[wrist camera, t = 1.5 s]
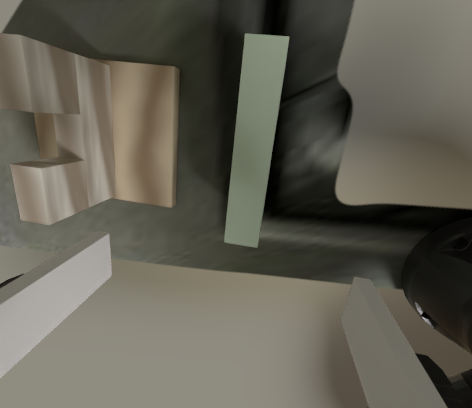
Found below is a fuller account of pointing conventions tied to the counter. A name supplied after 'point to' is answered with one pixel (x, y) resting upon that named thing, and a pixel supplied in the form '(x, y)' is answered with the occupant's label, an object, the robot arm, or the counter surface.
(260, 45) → the sage slotted plate
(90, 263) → the robot arm
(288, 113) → the counter surface
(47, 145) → the slotted base
